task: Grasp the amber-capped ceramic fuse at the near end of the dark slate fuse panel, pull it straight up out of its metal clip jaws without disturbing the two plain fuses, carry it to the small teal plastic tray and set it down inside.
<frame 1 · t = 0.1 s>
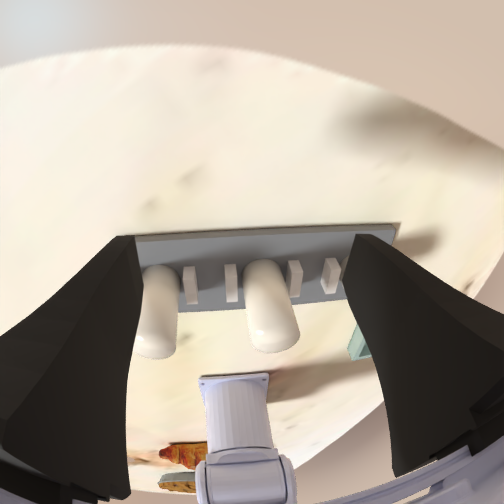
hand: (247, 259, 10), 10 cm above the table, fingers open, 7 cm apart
fuse middle: (261, 275, 22), point 1 cm above the table, touching fuse panel
tray: (389, 319, 29), on the table
pie: (194, 476, 68), on the table
fuse panel: (260, 268, 23), on the table
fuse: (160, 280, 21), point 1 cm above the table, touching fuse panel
croissant: (213, 446, 49), on the table
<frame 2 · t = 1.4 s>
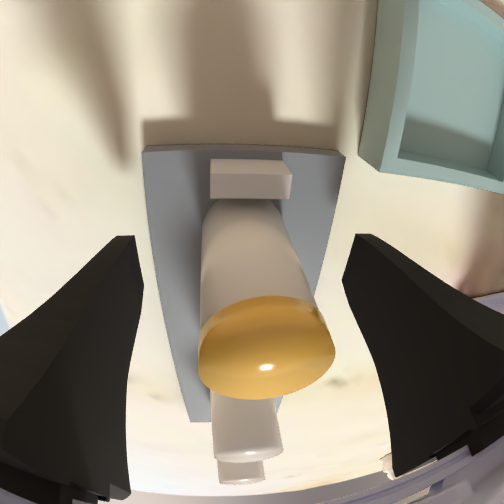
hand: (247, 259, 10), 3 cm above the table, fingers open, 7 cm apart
fuse middle: (236, 349, 15), point 1 cm above the table, touching fuse panel
tray: (450, 83, 9), on the table
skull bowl: (403, 449, 54), on the table
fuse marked: (242, 228, 11), point 1 cm above the table, touching fuse panel
fuse panel: (235, 338, 16), on the table
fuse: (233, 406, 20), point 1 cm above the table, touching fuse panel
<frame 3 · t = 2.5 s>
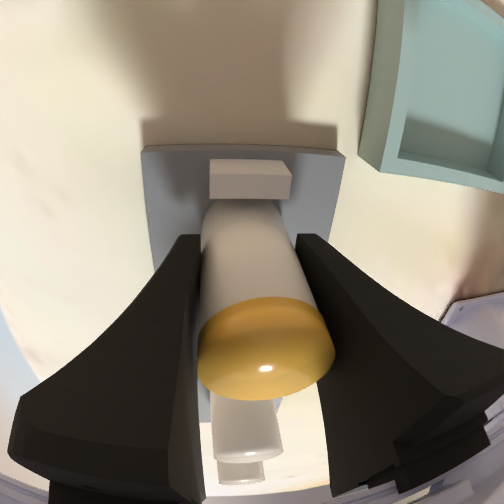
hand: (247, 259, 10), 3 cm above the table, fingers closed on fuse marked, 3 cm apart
fuse middle: (236, 350, 15), point 1 cm above the table, touching fuse panel
tray: (451, 83, 9), on the table
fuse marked: (242, 228, 11), point 1 cm above the table, touching fuse panel, gripper
fuse panel: (234, 338, 16), on the table
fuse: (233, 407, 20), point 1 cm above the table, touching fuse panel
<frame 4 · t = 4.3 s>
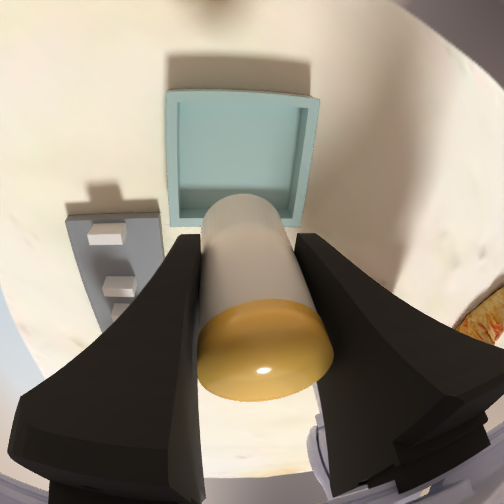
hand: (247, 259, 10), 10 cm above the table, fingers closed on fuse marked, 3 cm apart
tray: (237, 154, 18), on the table
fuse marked: (241, 230, 11), point 8 cm above the table, touching gripper
fuse panel: (135, 318, 25), on the table
croissant: (468, 325, 36), on the table
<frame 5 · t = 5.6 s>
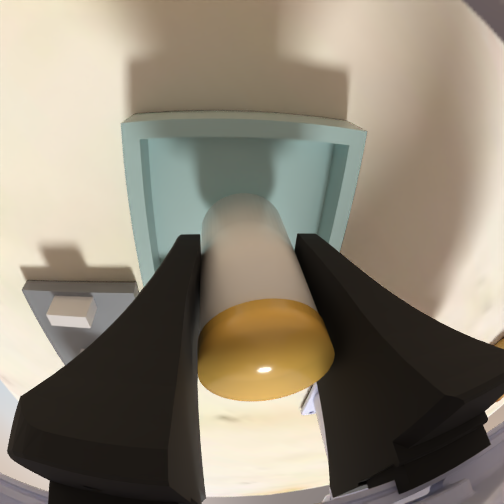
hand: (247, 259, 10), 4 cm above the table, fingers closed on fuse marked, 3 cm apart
tray: (238, 208, 12), on the table
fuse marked: (242, 229, 11), point 2 cm above the table, touching gripper
fuse panel: (122, 383, 20), on the table
when the fingers open (3 cm above the table, at t = 6.4 s): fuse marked stays where it is, resting on tray.
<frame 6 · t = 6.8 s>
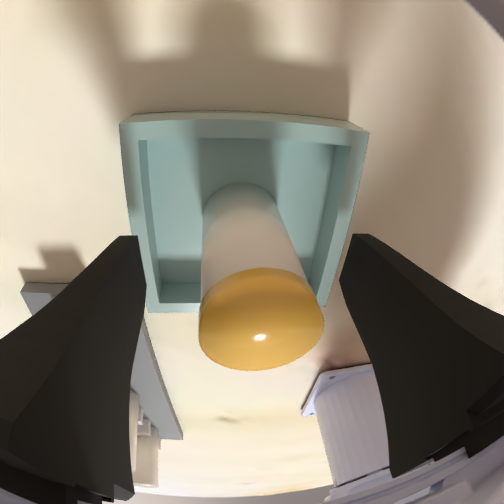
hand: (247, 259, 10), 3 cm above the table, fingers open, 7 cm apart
fuse middle: (120, 394, 19), point 1 cm above the table, touching fuse panel
tray: (239, 210, 12), on the table
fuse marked: (240, 217, 12), point 1 cm above the table, touching tray
fuse panel: (122, 385, 20), on the table
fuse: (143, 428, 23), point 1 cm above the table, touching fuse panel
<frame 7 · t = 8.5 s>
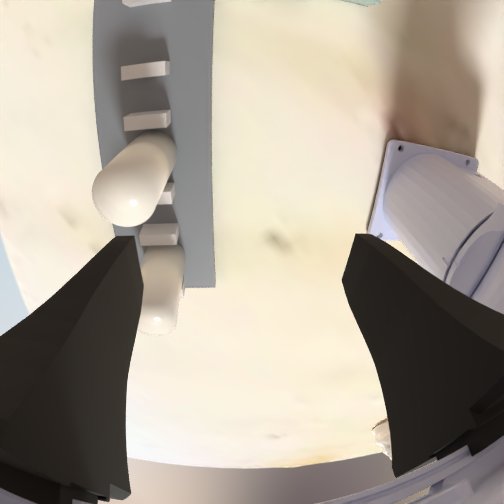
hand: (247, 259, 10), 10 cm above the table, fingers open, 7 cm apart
fuse middle: (153, 154, 16), point 1 cm above the table, touching fuse panel
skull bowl: (399, 420, 53), on the table
fuse panel: (155, 150, 17), on the table
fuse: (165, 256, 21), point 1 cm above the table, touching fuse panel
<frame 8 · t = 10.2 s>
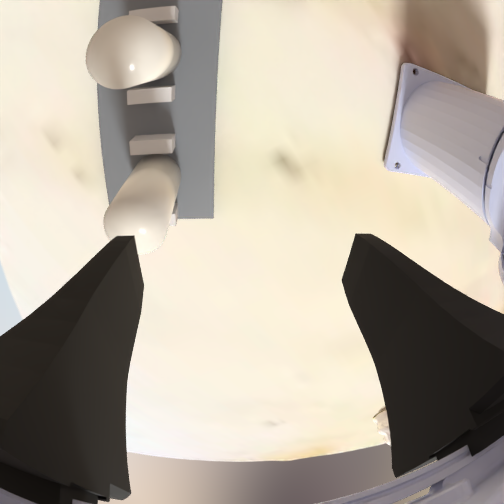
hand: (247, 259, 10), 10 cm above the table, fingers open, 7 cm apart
fuse middle: (154, 55, 13), point 1 cm above the table, touching fuse panel
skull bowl: (402, 408, 51), on the table
fuse panel: (157, 55, 14), on the table
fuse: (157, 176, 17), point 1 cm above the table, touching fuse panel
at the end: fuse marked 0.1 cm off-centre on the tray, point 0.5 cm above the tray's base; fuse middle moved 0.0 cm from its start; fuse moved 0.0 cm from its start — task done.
